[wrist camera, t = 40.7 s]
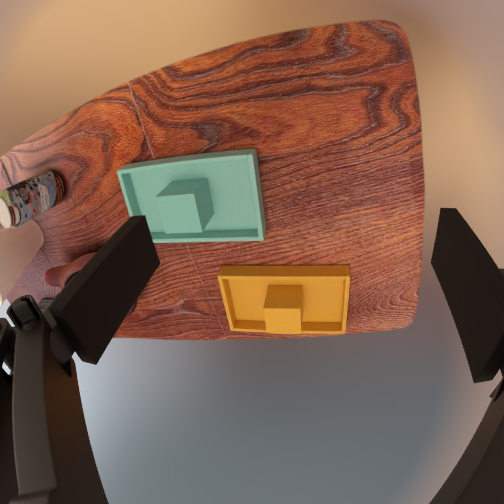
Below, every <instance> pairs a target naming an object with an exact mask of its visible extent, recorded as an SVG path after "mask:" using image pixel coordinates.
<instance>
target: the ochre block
mask: <svg viewBox="0 0 504 504" xmlns="http://www.w3.org/2000/svg"><path fill="white" fill-rule="evenodd" d="M263 311H264V318H265V324H266V330H267V333H277V334H302V324H303V312H304V306H303V286H302V285H268V289H267V293H266V298H265V302H264V306H263Z"/></svg>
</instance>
